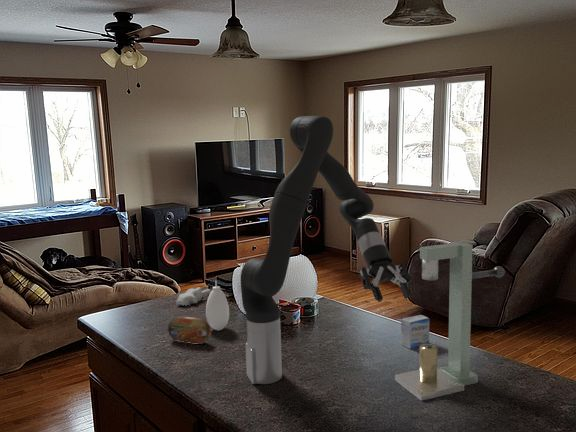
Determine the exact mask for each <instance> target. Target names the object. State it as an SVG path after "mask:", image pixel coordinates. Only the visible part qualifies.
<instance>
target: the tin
mask: <svg viewBox="0 0 576 432" xmlns="http://www.w3.org/2000/svg"><path fill="white" fill-rule="evenodd" d="M167 327H168V329H167V330H168V335H169V336H170V338H171V339H172V340H173V341H174V342H176V341H175V340H179V341H184V342H191V343H198V344H201V345H203V344H204V343H206V342H207V341H209V339H210V337H211V326H210V325H209V323H208V321H207V320H206V319H203V318H200V317H190V316H183V315H181V316H177V317H174V318H172V319H171V320H170V321H169V323H168V326H167Z"/></svg>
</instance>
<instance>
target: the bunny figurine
mask: <svg viewBox="0 0 576 432" xmlns="http://www.w3.org/2000/svg"><path fill="white" fill-rule="evenodd" d="M201 290H202V287H196V288H193V287H191V288H189V289H187V290H186V291H185V292H184V293H179V294H178V295H177V296H178V297H177V300H176V301H175V302H176V305H179V306H184V305H185V306H184V307H188V306H187V305H189V306H191V304H197V303H199V302H200V301H202V299H203V295H207V294H210V293H211V291H212V290H211V289H210V288H209V289H208V288H207V289H205V290H202V291H201ZM198 301H199V302H198Z"/></svg>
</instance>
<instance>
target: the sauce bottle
mask: <svg viewBox="0 0 576 432" xmlns="http://www.w3.org/2000/svg"><path fill="white" fill-rule="evenodd" d="M214 281H215V286H212V290H211V293H209V295H208V297H207V301H206V306H205V316H206V322H207V323H208V324H209V326H210V328H212V329H213V330H215V331H221V330H223V329H224V328H225V327H226V326H227V324H228V322H229V320H230V307H229V302H228V299H227V297H226V294H225V293H224V291H222V289H221V286H218V284H217V283H218V282H217V280H214Z"/></svg>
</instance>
